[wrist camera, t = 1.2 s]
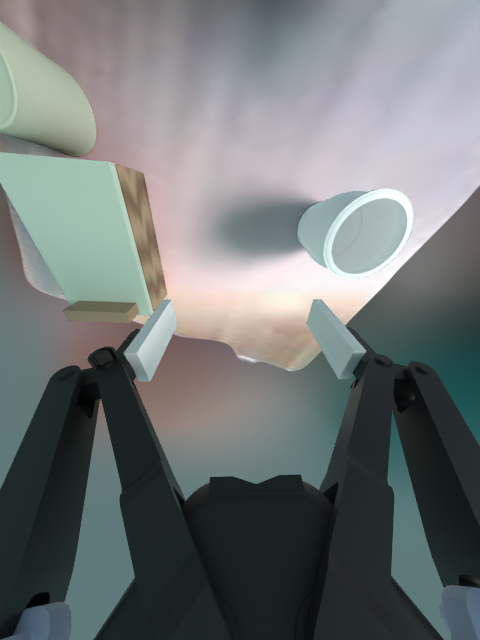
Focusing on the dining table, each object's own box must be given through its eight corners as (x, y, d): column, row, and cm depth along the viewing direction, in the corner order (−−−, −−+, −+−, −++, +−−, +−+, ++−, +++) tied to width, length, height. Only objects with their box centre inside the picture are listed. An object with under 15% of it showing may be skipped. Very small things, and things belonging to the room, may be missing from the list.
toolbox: (54, 166, 27) (-3, 154, 21) (143, 173, 28) (115, 164, 22) (105, 291, 40) (80, 308, 33) (167, 294, 41) (154, 311, 34)
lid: (-6, 153, 21) (-62, 141, 17) (114, 163, 21) (87, 154, 18) (79, 309, 33) (58, 323, 29) (153, 312, 34) (142, 326, 30)
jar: (291, 258, 37) (321, 286, 24) (290, 202, 31) (328, 200, 19) (342, 248, 36) (399, 272, 24) (350, 188, 30) (432, 177, 18)
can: (47, 36, 21) (-121, -115, 11) (110, 133, 26) (33, 88, 16) (5, 90, 23) (-167, 4, 13) (71, 170, 28) (-20, 151, 18)
